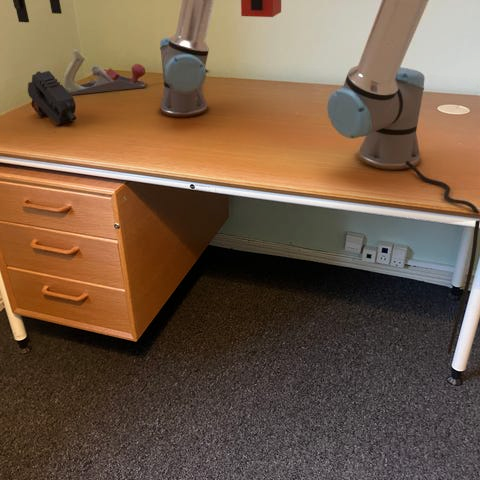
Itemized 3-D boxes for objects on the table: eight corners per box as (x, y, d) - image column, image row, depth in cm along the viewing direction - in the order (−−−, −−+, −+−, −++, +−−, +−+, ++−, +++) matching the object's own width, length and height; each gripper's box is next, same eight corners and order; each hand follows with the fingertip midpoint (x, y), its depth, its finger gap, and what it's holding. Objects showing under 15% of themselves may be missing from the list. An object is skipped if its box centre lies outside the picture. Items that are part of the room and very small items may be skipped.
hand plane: (62, 90, 197) (53, 48, 189) (145, 82, 205) (140, 41, 197) (62, 96, 191) (54, 53, 184) (148, 87, 199) (143, 45, 191)
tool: (41, 101, 176) (45, 64, 165) (76, 140, 172) (84, 104, 161) (24, 106, 172) (28, 69, 162) (60, 145, 168) (67, 110, 157)
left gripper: (42, -76, 142) (58, 9, 153) (-28, -73, 122) (-4, 25, 134) (65, -77, 140) (80, 10, 151) (-2, -73, 120) (21, 26, 131)
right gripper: (259, -98, 133) (259, 1, 145) (231, -99, 117) (234, 13, 129) (288, -99, 131) (286, 1, 143) (263, -100, 114) (264, 14, 126)
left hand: (41, 17), depth 142 cm, fingers open, 13 cm apart
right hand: (261, 7), depth 136 cm, fingers closed on block, 8 cm apart
